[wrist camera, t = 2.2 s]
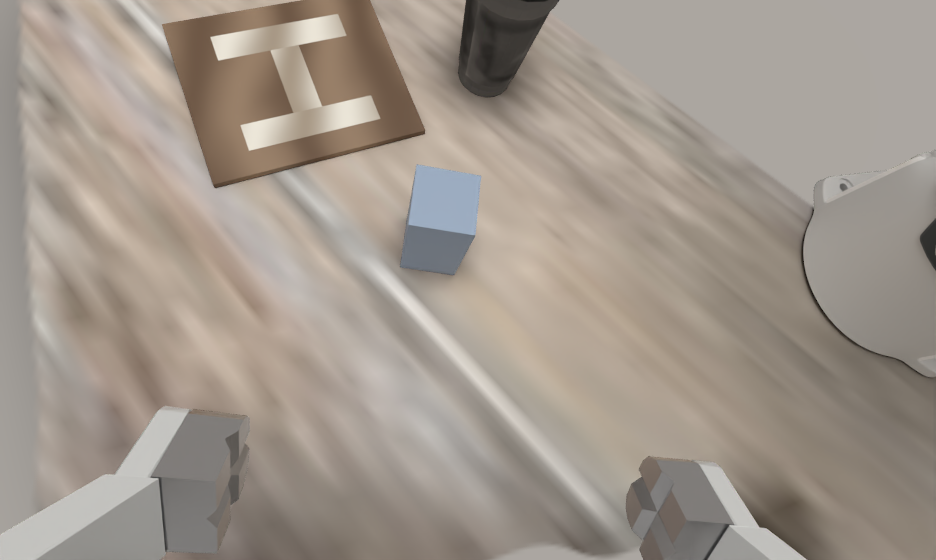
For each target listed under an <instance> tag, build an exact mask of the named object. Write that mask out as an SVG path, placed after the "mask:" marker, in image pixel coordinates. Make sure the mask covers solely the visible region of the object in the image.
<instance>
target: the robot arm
mask: <svg viewBox="0 0 936 560" xmlns="http://www.w3.org/2000/svg"><path fill="white" fill-rule="evenodd" d="M803 256H804V266H805V271H806V275H807V278H808V281H809V284H810V287H811V289H812V292H813V294H814V296H815V298H816V300H817V301H818V303H819V305H820V306H821V308H822V309H823V311H824V312H825V314H826V315H827V316H828V318H829V319H830V320H831V321H832V322H833V324H834V325H835V326H836V327H837V328H838V329H839V330H840V331H841V332H843V333H844V334H845V335H846V336H847V337H849V338H850V339H851V340H853V341H854V342H856V343H857V344H859V345H860V346H862V347H864V348H866V349H868V350H870V351H873V352H875V353H878V354H882V355H886V356H890V357H894V358H897V359H899V360H902V361H903V362H905V363H906V364H908V365H909V366H910V367H912V368H913V369H915V370H916V371H918V372H919V373H921V374H922V375H924V376H927V377H931V378H932V377H936V150H934V151H931V152H926V153H922V154H919V155H917V156H915V157H913V158H911V159H910V160H908V161H906V162H904V163H902V164H900V165H898V166H896V167H893V168H891V169H890V170H886V171H877V172H867V173H858V174H849V175H840V176H832V177H827V178H825V179H823V180H820V181H818V182H817V183H816V184H815V187H814V213H813V216H812V219H811V221H810V223H809V226H808V228H807V231H806V234H805V239H804V247H803ZM249 432H250V418H249V417H248V416H245V415H237V414H229V413H221V412H213V411H205V410H197V409H193V410H192V409H184V408H177V407H169V406H164V407H162V408H161V409H160V410H158V411H157V412H156V414H155V415H154V417H153V418H152V420H151V421H150V423H149V424H148V426H147V427H146V429H145V430H144V431H143V433H142V434H141V436H140V437H139V439H138V440H137V442H136V443H135V445H134V446H133V448H132V449H131V451H130V452H129V454H128V455H127V457H126V458H125V460H124V461H123V463H122V464H121V466H120V467H119V469H118V470H117V471H116V473H115V474H114V475H111V474H104V475H103V476H101V477H99V478H97V479H96V480H94V481H92V482H91V483H89V484H87V485H85V486H84V487H82V488H80V489H78V490H77V491H75V492H73V493H71V494H70V495H68V496H66V497H64V498H63V499H61V500H59V501H57V502H56V503H54V504H52V505H51V506H49V507H47V508H45V509H44V510H42V511H40V512H38V513H37V514H35V515H33V516H31V517H30V518H28V519H26V520H24V521H23V522H21V523H19V524H17V525H16V526H14V527H13V528H11V529H9V530H7V531H5V532H4V533H2V534H0V560H160V559H162V558H163V557H164V556H165V555H166V553H165V552H188V553H218V551H219V548H220V546H221V543H222V541H223V538H224V536H225V533H226V530H227V528H228V525H229V523H230V520H231V505H232V504H233V503H234V502H236V501H237V500H238V499H239V497H240V494H241V491H242V489H243V486H244V482H245V478H246V474H247V470H248V463H249V447H248V446H247V445H246V444H245V442H246V439H247V437H248V434H249ZM639 471H640V473H641V476H642V477H641V478H639V479H638V480H636V481H635V482H633V483H632V484H631V486H630V488H629V491H628V493H627V497H626V512H627V518H628V521H629V524H630V527H631V529H632V531H633V532H634V533H636V534H637V535H638V536H639V537H640V538H641V539H642V543H641V546H640V549H639V550H640V552H641V555H642V557H643V560H806V559H805V558H804V557H803V556H801V555H800V554H799V553H797V552H796V551H795V550H794V549H792V548H791V547H790V546H788V545H787V544H786V543H785V542H783V541H782V540H781V539H779V538H778V537H777V536H775V535H774V534H773V533H772V532H770V531H769V530H768V529H766V528H759V526H758V525H757V523H756V521H755V520H754V518H753V517H752V515H751V514H750V512H749V511H748V509H747V507H746V506H745V504H744V503H743V501H742V500H741V498H740V497H739V495H738V493H737V492H736V490H735V489H734V487H733V486H732V484H731V482H730V481H729V479H728V478H727V476H726V475H725V473H724V472H723V470H722V468H721V467H720V466H719V465H717V464H716V463H715V462H707V461H696V460H692V461H690V460H683V459H672V458H662V457H651V456H648V457H647V458H646V459H644V460H643V462H642V464H641V466H640V467H639Z"/></svg>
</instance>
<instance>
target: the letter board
mask: <svg viewBox="0 0 936 560" xmlns="http://www.w3.org/2000/svg"><path fill="white" fill-rule="evenodd" d="M162 26H163V29H164V32H165V36H166V39H167V42H168V45H169V48H170V51H171V54H172V57H173V61H174V64H175V67H176V70H177V73H178V76H179V79H180V82H181V86H182V89H183V92H184V95H185V98H186V101H187V104H188V107H189V110H190V114H191V117H192V120H193V123H194V126H195V129H196V132H197V135H198V139H199V142H200V145H201V148H202V151H203V154H204V157H205V160H206V164H207V167H208V170H209V173H210V176H211V179H212V182H213V185H214V187H215V188H217V187H220V186H224V185H228V184H232V183H236V182H240V181H244V180H248V179H251V178H255V177H259V176H263V175H267V174H271V173H275V172H279V171H282V170H286V169H290V168H294V167H298V166H302V165H306V164H309V163H313V162H317V161H321V160H325V159H329V158H333V157H337V156H340V155H344V154H348V153H352V152H356V151H360V150H364V149H368V148H371V147H375V146H379V145H383V144H387V143H391V142H395V141H398V140H402V139H406V138H410V137H414V136H418V135H422V134H425V129H424V126H423V124H422V122H421V119H420V117H419V115H418V112H417V110H416V108H415V105H414V103H413V101H412V98H411V96H410V93H409V91H408V89H407V86H406V84H405V82H404V79H403V77H402V75H401V72H400V70H399V68H398V65H397V63H396V61H395V58H394V56H393V54H392V51H391V49H390V47H389V44H388V42H387V39H386V37H385V35H384V32H383V30H382V28H381V25H380V23H379V21H378V18H377V16H376V14H375V11H374V9H373V7H372V4H371V2H370V0H301V1H295V2H289V3H284V4H278V5H272V6H266V7H260V8H254V9H249V10H243V11H237V12H231V13H225V14H219V15H213V16H208V17H202V18H196V19H190V20H184V21H178V22H172V23H167V24H162Z"/></svg>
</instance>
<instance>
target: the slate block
mask: <svg viewBox="0 0 936 560" xmlns="http://www.w3.org/2000/svg"><path fill="white" fill-rule="evenodd" d="M480 181H481V176H479V175H473V174H468V173H462V172H456V171H451V170H445V169H439V168H434V167H428V166H423V165H417V166H416V171H415V177H414V183H413V188H412V194H411V199H410V205H409V210H408V216H407V222H406V229H405V236H404V243H403V250H402V257H401V264H400V267H402V268H409V269H416V270H422V271H429V272H436V273H443V274H449V275H454V274H455V272H456V271H457V269H458V267H459V265H460V263H461V261H462V259H463V257H464V256H465V254H466V252H467V250H468V248H469V246H470V244H471V243H472V241H473V239H474V237H475V233H476V223H477V212H478V202H479V192H480Z"/></svg>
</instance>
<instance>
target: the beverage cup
mask: <svg viewBox="0 0 936 560" xmlns="http://www.w3.org/2000/svg"><path fill="white" fill-rule="evenodd" d="M558 2H559V0H466V5H465V14H464V22H463V30H462V38H461V46H460V54H459V69H458V74H459V78H460V80H461V82H462V84H463V85H464V86H465V87H466V88H467V89H468V90H469V91H470V92H472V93H474V94H476V95H479V96H484V97H493V96H496V95H499V94H501V93H502V92H503V91H505V90H506V89H507V87H508V85H509V83H510V81H511V80H512V79H513V78H514V76H515V74H516V72H517V70H518V69H519V67H520V65H521V63H522V61H523V60H524V58H525V56H526V54H527V52H528V50H529V49H530V47H531V45H532V43H533V41H534V40H535V38H536V36H537V34H538V32H539V31H540V29H541V27H542V25H543V23H544V21H545V20H546V18H547V16H548V14H549V12H550V11H551V10H552V9H553V8H554V7H555V6H556V4H557V3H558Z"/></svg>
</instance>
